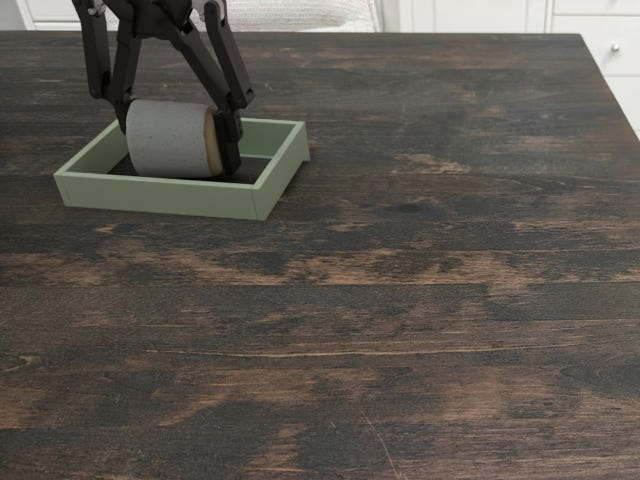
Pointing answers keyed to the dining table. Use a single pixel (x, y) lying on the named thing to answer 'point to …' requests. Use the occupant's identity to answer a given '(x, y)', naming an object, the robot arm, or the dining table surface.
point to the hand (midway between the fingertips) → (191, 166)
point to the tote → (186, 195)
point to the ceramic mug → (173, 139)
